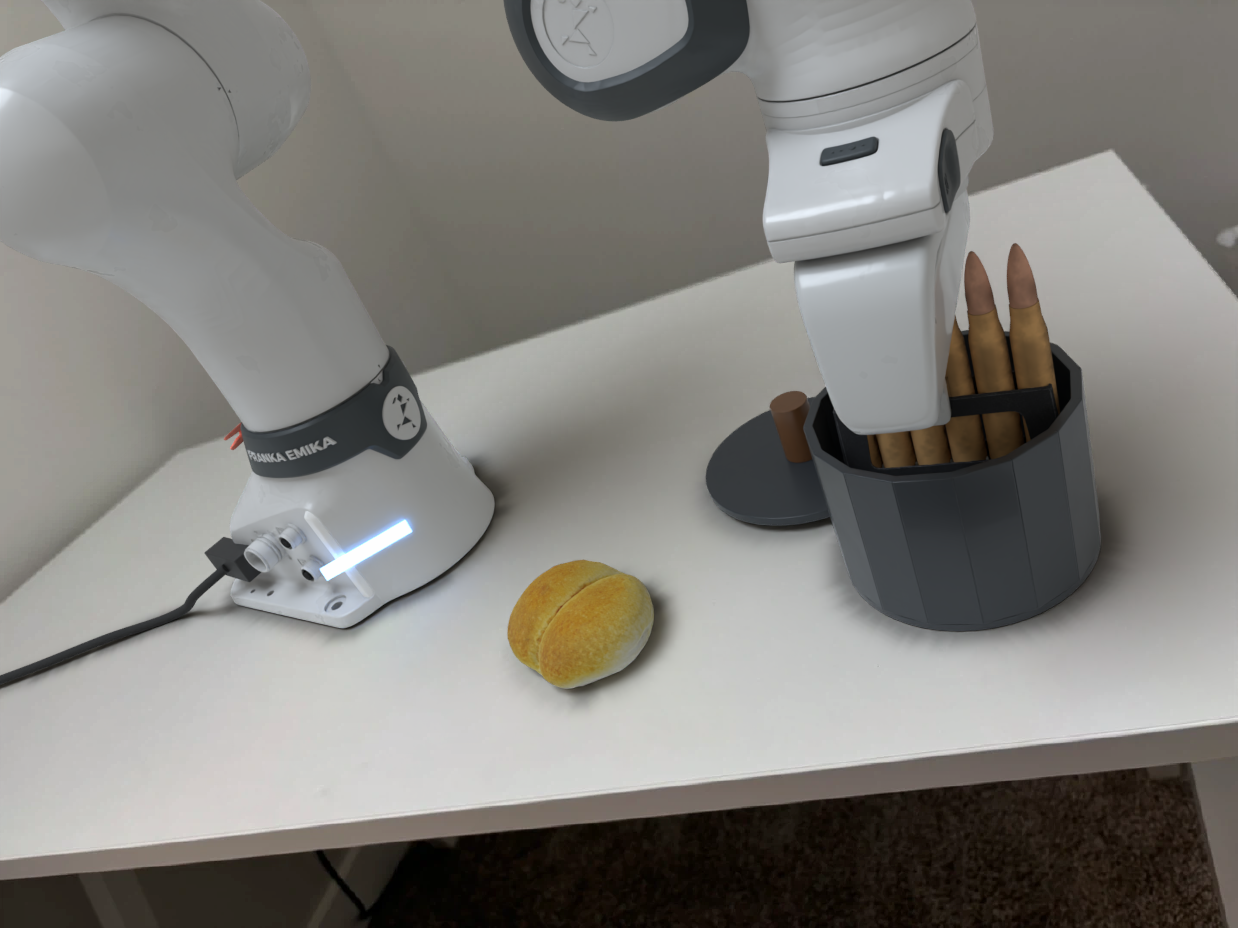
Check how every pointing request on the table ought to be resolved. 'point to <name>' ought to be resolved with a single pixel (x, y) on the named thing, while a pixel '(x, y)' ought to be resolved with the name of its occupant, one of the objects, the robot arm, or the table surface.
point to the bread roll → (580, 623)
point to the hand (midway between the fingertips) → (937, 399)
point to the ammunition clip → (977, 386)
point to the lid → (769, 468)
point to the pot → (969, 521)
